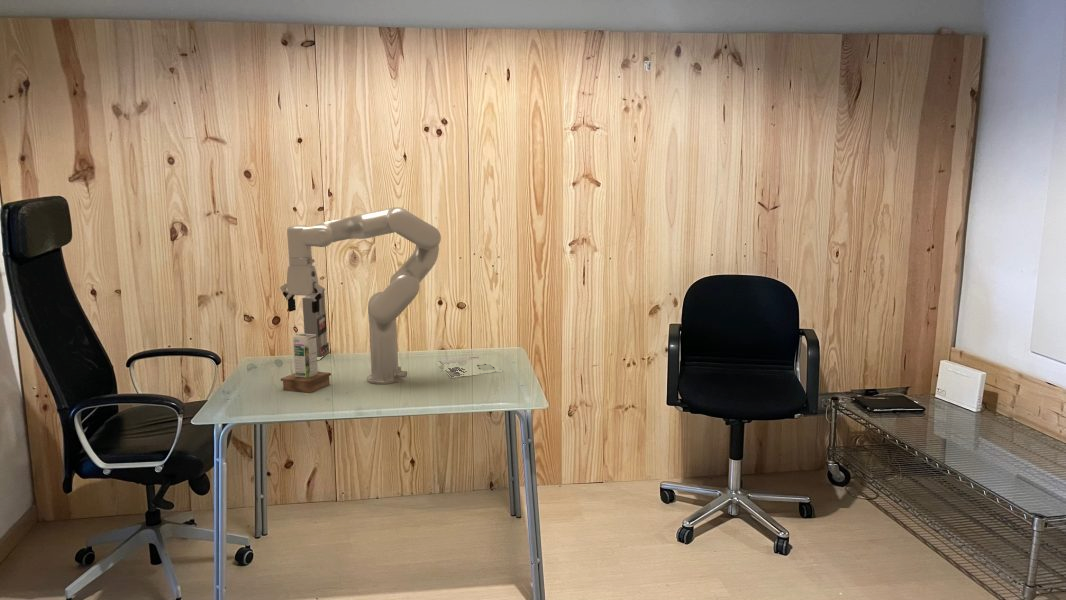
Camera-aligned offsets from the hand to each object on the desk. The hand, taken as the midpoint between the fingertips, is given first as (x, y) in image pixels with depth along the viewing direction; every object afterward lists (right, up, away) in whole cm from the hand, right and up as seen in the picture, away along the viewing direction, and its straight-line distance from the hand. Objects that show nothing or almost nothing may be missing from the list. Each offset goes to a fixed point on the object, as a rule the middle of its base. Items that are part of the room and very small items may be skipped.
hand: (303, 311), depth 265 cm
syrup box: (0, -22, +3) cm, 23 cm away
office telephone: (+54, -23, +27) cm, 65 cm away
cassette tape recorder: (-8, -19, +48) cm, 52 cm away
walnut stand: (0, -26, +3) cm, 26 cm away
